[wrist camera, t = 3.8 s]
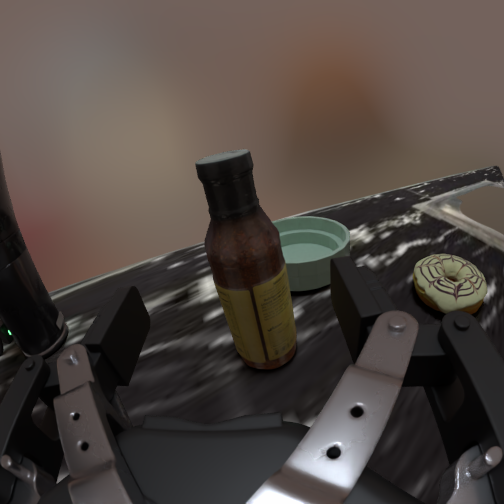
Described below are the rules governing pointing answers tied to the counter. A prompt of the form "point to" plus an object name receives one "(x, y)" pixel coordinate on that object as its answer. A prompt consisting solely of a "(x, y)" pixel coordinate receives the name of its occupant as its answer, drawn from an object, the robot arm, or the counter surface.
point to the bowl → (311, 249)
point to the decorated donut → (449, 283)
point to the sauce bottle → (247, 262)
